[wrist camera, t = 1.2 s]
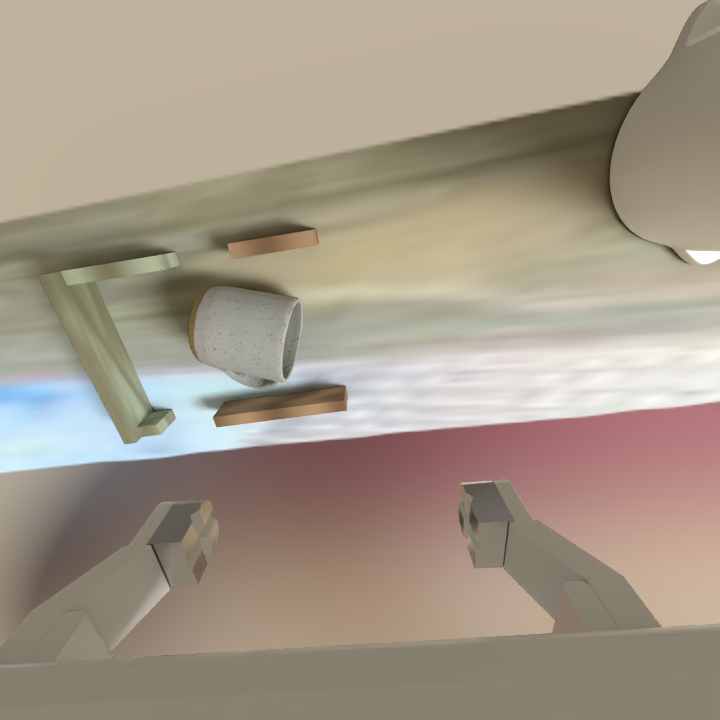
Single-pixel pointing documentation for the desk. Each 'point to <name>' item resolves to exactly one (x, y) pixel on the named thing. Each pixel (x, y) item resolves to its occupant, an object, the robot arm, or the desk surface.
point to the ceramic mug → (247, 334)
